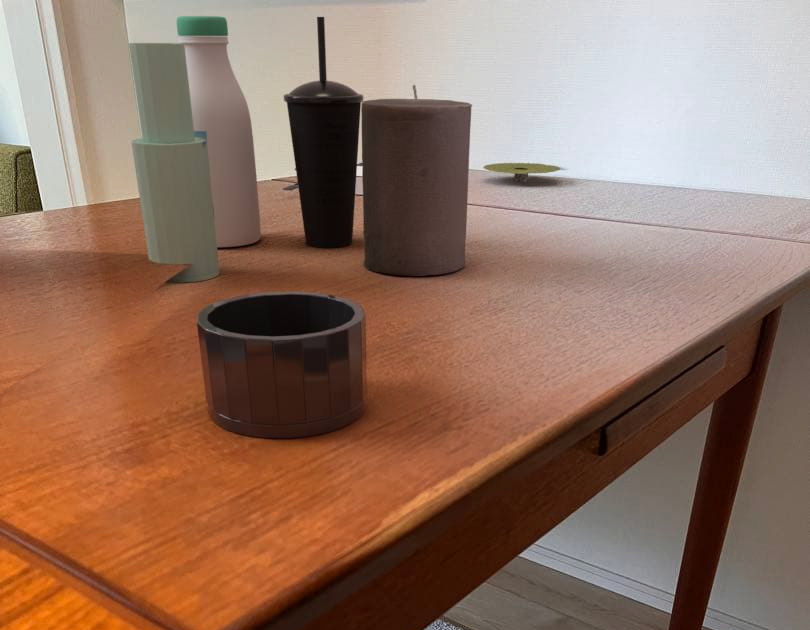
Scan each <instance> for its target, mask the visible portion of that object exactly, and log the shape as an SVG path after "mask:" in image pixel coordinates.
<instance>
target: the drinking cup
mask: <svg viewBox="0 0 810 630" xmlns="http://www.w3.org/2000/svg"><path fill="white" fill-rule="evenodd" d="M316 25H317V28H316V29H317V50H318V51H317V52H318V53H317V54H318V75H319V78H318V79H319V80H313V81H309V82H306V83H302V84H301V85H298V86H297V87H295V88H293V89H292V90H291V91H290V92H289V93H286V94H283V102H285V103H286V106H287V114H288V122H289V129H290V135H291V143H292V151H293V159H294V165H295V166H294V167H295V168H296V170H295V173H296V180H297V183H298V188H297V189H298V194H299V196H298V197H299V202H300V203H299V204H300V211H301V216H302V217H301V218H302V224H303V231H304V240H305V245H307V246H310V247H313V248H323V249H325V248H327V249H328V248H329V249H330V248H331V249H332V248H334V249H335V248H342V247H347V246H350V245H352V244H353V235H354V219H355V203H356V195H355V189H356V173H357V164H358V158H359V157H358V153H359V139H360V138H359V137H360V122H361V107H362V102H363V101H365V100H364V99H365V97H364V96H365V95H363V94H361V93H358V92H357V91H355V90H354V89H353V88H351V87H350V86H348V85H346V84H344V83H340V82H336V81H333V80H327V79H328V78H327V53H326V51H327V50H326V23H325V16H316Z"/></svg>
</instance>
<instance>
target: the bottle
mask: <svg viewBox="0 0 810 630" xmlns="http://www.w3.org/2000/svg"><path fill="white" fill-rule="evenodd" d="M128 47H129V54H130V60H131V67H132V76H133V82H134V89H135V96H136V102H137V110H138V117H139V125H140V131H141V138H136V139H132V141H131V149H132V155H133V162H134V168H135V175H136V181H137V183H136V184H137V188H138V189H137V190H138V197H139V203H140V209H141V216H142V222H143V230H144V235H145V242H146V250H147V255H148V260H149V261H150V262H152V263H155V264H161V265H188V266H186V267H185V268H184V269H182V270H180V271H179V272H178V273H176V274H174V275H173V276H172V277H169V279H167V280H166V281H165V283H173V284H185V283H187V284H188V283H199V282H203V281H207V280H212V279H214V278H217V277H218V276H219V275H220V273H221V270H220V261H219V252H218V251H219V250H218V247H217V242H216V233H215V223H214V214H213V204H212V195H211V186H210V176H209V167H208V158H207V148H206V140H205V139H202V138H196V137H195V135H194V126H193V117H192V108H191V100H190V91H189V82H188V73H187V64H186V55H185V46H184V43H179V42H128Z"/></svg>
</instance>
